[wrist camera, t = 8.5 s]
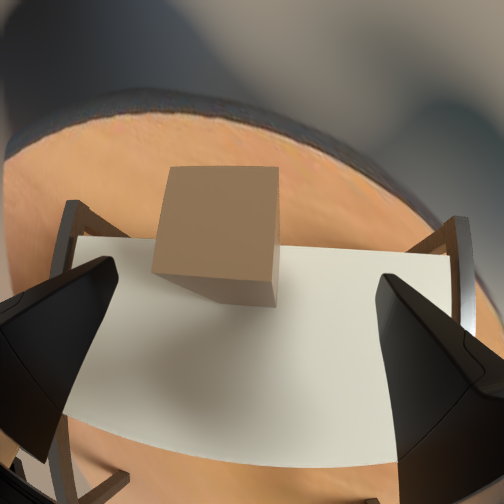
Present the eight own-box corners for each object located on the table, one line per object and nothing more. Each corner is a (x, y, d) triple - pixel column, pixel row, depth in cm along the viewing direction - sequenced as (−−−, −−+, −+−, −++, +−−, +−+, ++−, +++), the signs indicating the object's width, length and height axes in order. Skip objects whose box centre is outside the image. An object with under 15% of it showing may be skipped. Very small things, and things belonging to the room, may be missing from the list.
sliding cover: (427, 451, 10) (513, 512, 3) (68, 411, 12) (-35, 434, 5) (443, 258, 12) (546, 199, 5) (83, 238, 15) (-15, 181, 7)
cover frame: (374, 507, 15) (407, 567, 7) (120, 479, 18) (62, 521, 9) (405, 258, 21) (468, 217, 12) (132, 243, 23) (66, 200, 14)
